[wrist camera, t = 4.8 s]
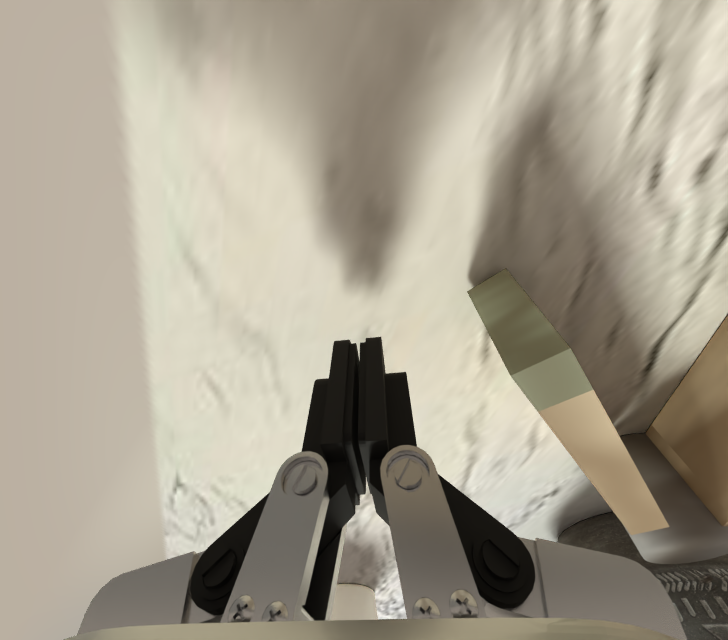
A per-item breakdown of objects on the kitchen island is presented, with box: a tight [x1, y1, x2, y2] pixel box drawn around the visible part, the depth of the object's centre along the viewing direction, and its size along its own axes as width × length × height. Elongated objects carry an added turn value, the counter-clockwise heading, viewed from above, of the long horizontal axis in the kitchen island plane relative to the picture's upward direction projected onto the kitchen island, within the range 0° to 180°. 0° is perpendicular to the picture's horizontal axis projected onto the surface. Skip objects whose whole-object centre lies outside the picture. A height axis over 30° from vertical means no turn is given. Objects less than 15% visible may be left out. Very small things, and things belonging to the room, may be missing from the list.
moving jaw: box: [467, 269, 669, 535], centre depth 13 cm, size 2×14×4 cm, turn 39°
